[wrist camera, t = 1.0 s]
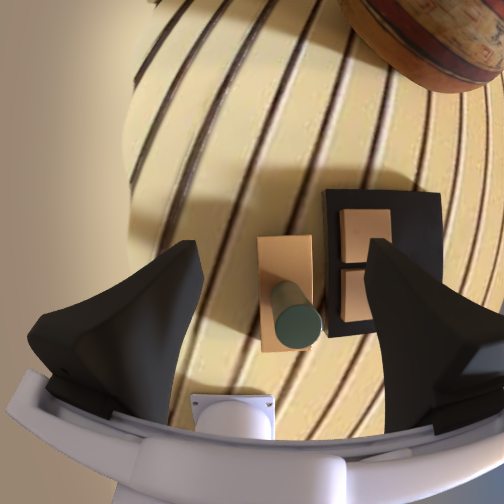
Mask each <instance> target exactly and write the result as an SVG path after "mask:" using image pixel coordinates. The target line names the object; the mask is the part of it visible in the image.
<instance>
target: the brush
mask: <svg viewBox="0 0 504 504" xmlns="http://www.w3.org/2000/svg"><path fill="white" fill-rule="evenodd" d="M257 254H258V278H259V302H260V327H261V352H262V353H269V352H288V351H302V350H312V344H313V343H314V342H315V341H316V340H317V339H318V338H319V336H320V334H321V331H322V319H321V316H320V315H319V313H318V312H317V310H316V309H315V308H314V306H313V273H312V238H311V235H280V236H258V237H257Z"/></svg>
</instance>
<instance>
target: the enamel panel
mask: <svg viewBox="0 0 504 504" xmlns="http://www.w3.org/2000/svg"><path fill="white" fill-rule="evenodd" d="M322 205H323V224H324V250H325V330H324V332H325V334H326V335H327V337H328V338H333V337H343V336H352V335H360V334H368V333H375V332H376V328H375V325H374V321H373V319H368V320H360V321H351V322H344V321H343V320H342V319H341V270H342V269H355V268H365V267H366V262H355V263H345V262H342V261H341V231H340V210H343V209H390V219H391V243H392V244H393V245H394V246H395V247H397V248H398V249H399V250H400V251H401V252H403V253H404V254H405V255H406V256H407V257H409V258H410V259H411V260H412V261H413V262H415V263H416V264H417V265H418V266H420V267H421V268H422V269H423V270H425V271H426V272H427V273H429V274H430V275H431V276H433V277H434V278H435V279H437V280H438V281H440V282H441V283H442V279H443V220H442V205H441V194H440V193H433V192H417V191H398V190H368V189H325V190H324V191H323V192H322Z"/></svg>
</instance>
